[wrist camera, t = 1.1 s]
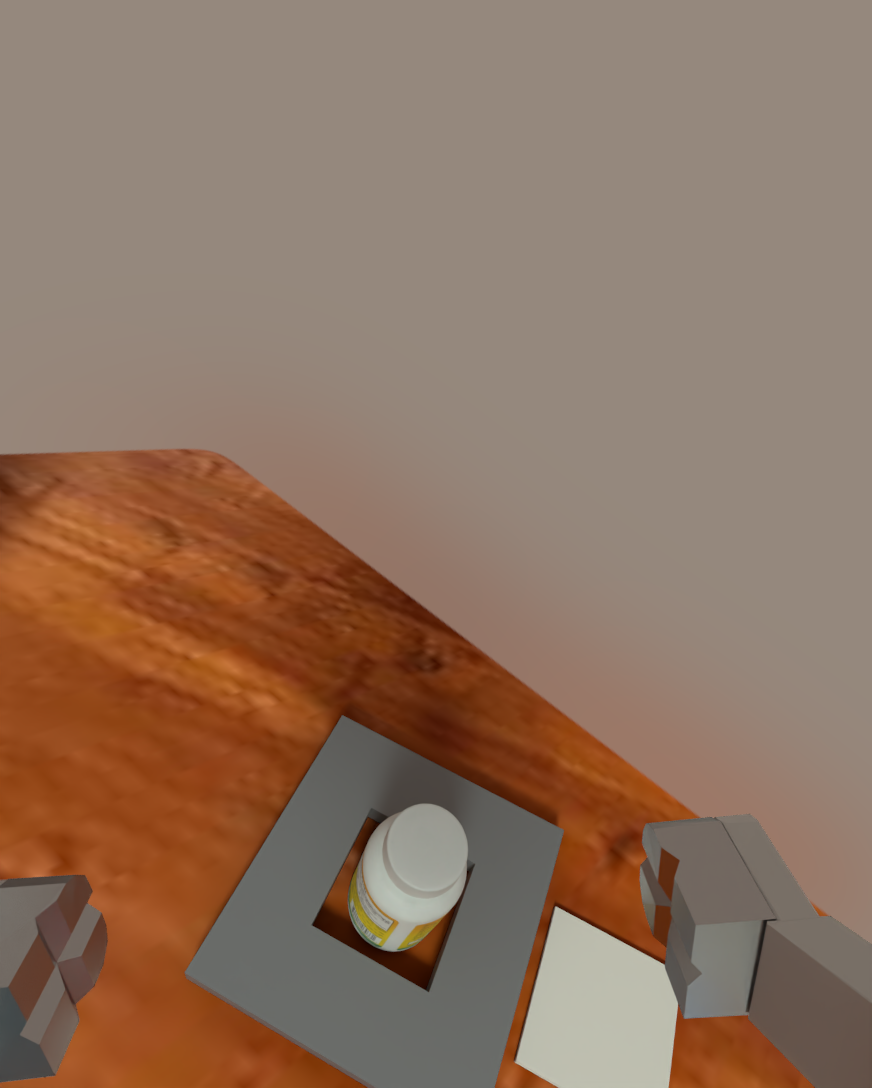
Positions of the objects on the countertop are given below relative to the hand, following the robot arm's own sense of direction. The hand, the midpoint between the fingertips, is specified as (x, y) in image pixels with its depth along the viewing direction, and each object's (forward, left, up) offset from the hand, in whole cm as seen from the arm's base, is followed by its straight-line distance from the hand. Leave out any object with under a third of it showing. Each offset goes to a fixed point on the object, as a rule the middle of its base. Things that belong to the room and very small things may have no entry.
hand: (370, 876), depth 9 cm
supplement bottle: (+2, +9, -31) cm, 32 cm away
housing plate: (+2, +9, -31) cm, 32 cm away
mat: (+15, +9, -31) cm, 35 cm away
